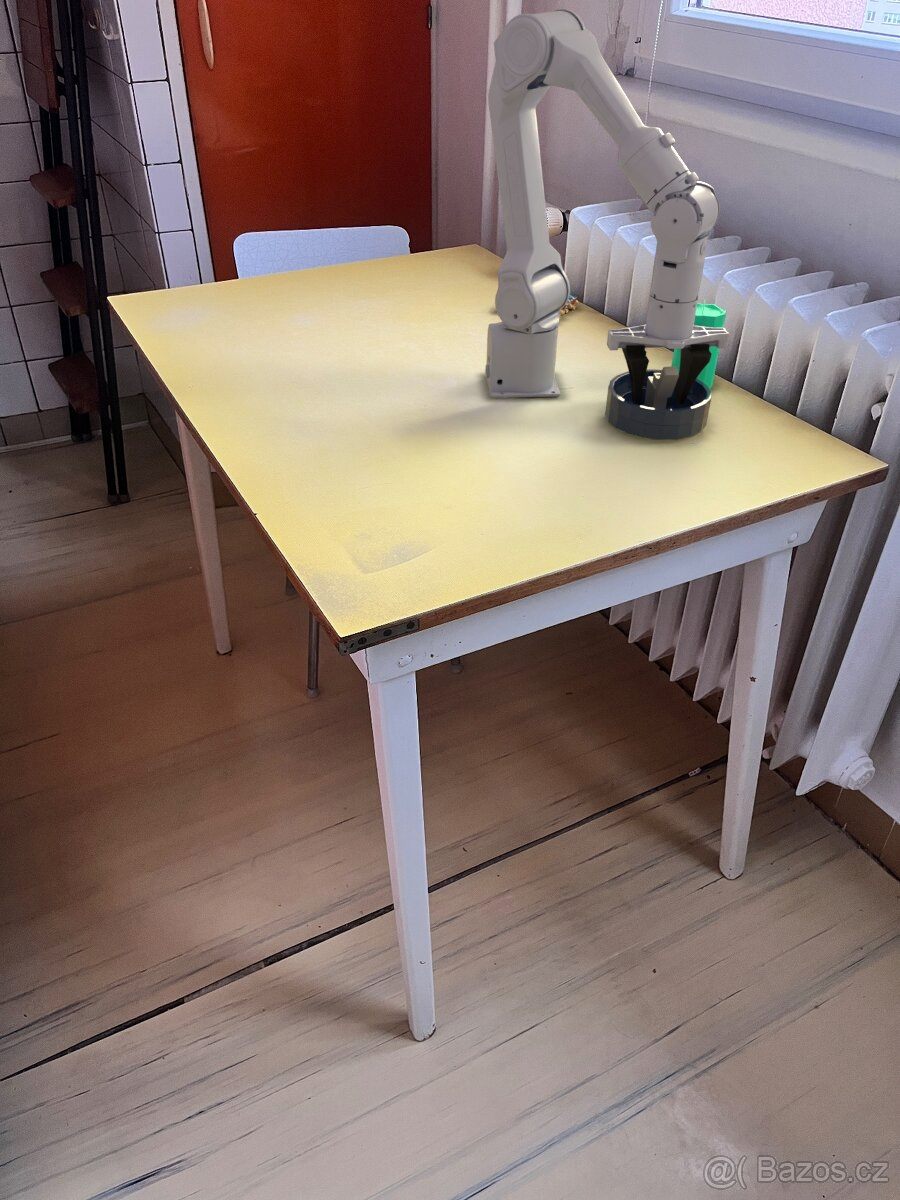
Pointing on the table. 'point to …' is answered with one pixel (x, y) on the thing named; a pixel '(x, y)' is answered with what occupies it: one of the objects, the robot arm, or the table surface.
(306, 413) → the table surface
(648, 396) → the lighter
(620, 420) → the bowl
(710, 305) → the candle
